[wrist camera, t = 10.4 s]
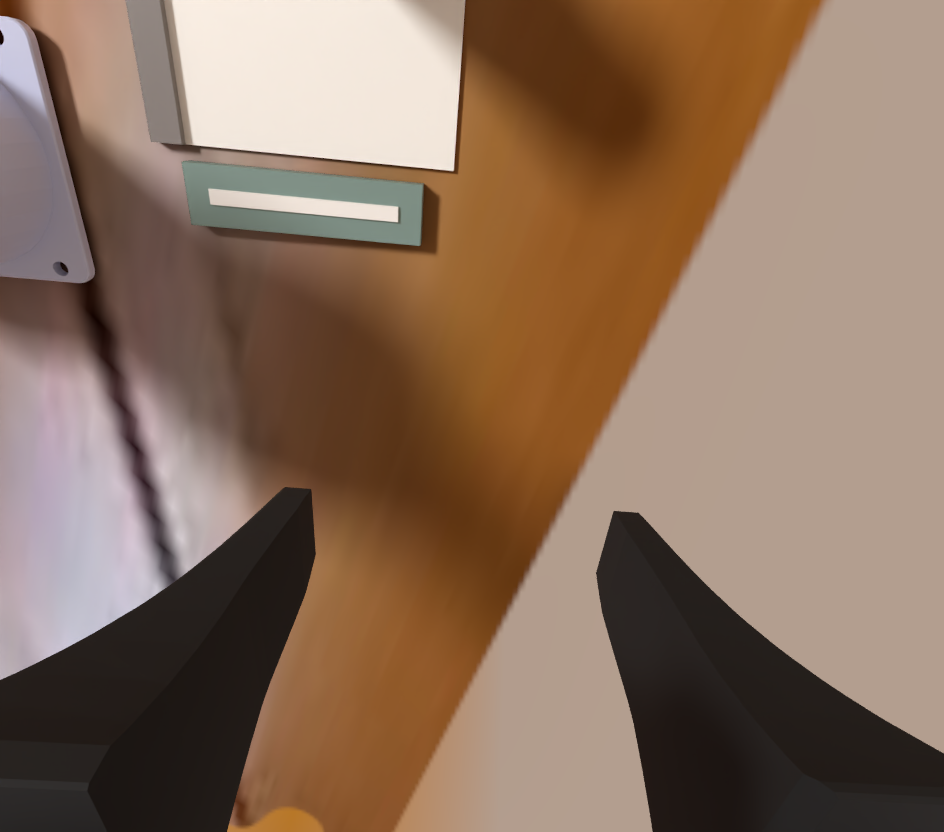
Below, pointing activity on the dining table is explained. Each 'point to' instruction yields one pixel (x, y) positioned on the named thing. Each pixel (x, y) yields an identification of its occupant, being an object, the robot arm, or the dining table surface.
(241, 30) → the white rectangular slab
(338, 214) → the green striped bar
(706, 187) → the dining table surface
